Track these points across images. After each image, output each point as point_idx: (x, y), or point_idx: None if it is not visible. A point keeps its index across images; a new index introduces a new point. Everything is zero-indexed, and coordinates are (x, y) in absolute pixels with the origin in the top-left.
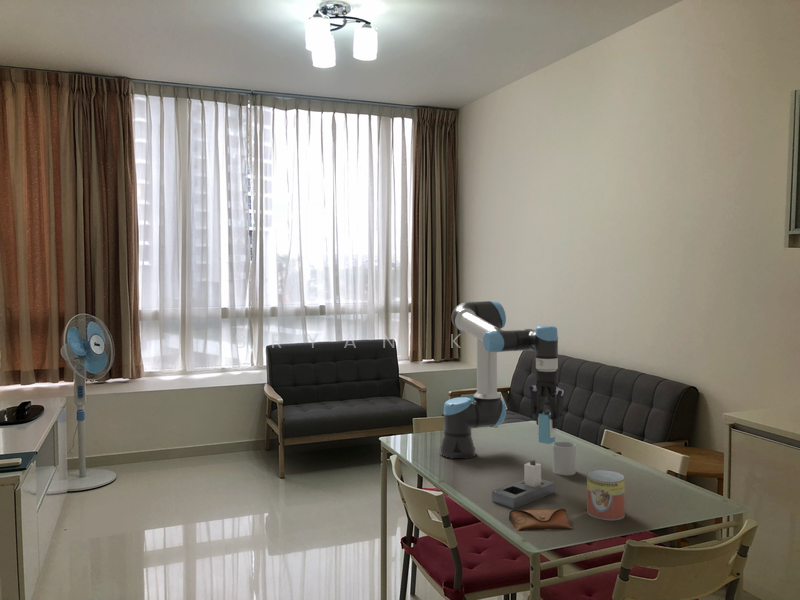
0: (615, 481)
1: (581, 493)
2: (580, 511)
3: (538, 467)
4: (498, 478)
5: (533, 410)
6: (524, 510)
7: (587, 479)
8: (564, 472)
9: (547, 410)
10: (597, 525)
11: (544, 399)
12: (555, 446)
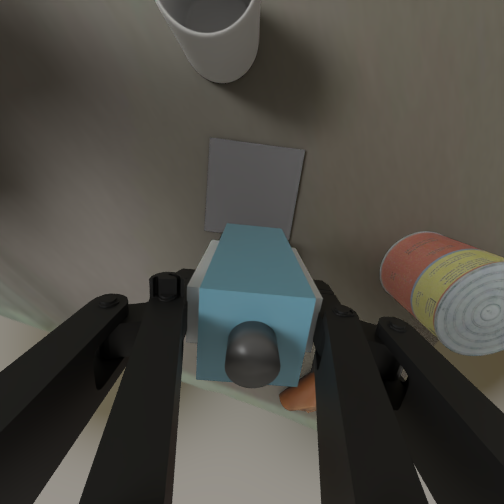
0: None
1: (336, 190)
2: (369, 290)
3: None
4: (119, 229)
5: (113, 370)
6: (307, 402)
7: (430, 329)
8: (239, 74)
9: (257, 362)
10: (415, 327)
11: (168, 482)
12: (187, 34)
